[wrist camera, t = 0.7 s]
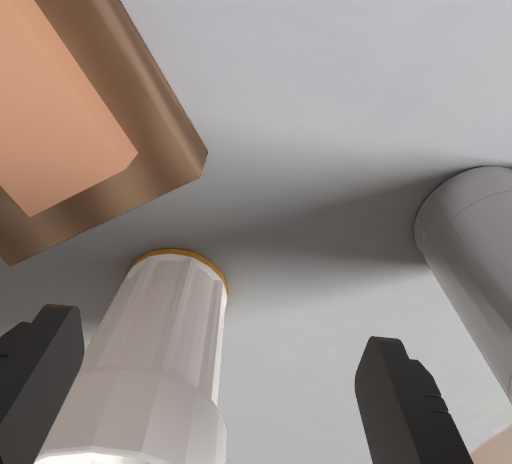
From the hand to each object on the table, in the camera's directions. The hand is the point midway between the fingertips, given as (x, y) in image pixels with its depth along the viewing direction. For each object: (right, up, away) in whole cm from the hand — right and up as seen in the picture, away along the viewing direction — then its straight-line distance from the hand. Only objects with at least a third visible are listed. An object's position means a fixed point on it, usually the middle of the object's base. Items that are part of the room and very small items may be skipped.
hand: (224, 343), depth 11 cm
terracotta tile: (-12, +10, +11) cm, 19 cm away
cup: (-6, -2, +24) cm, 25 cm away
